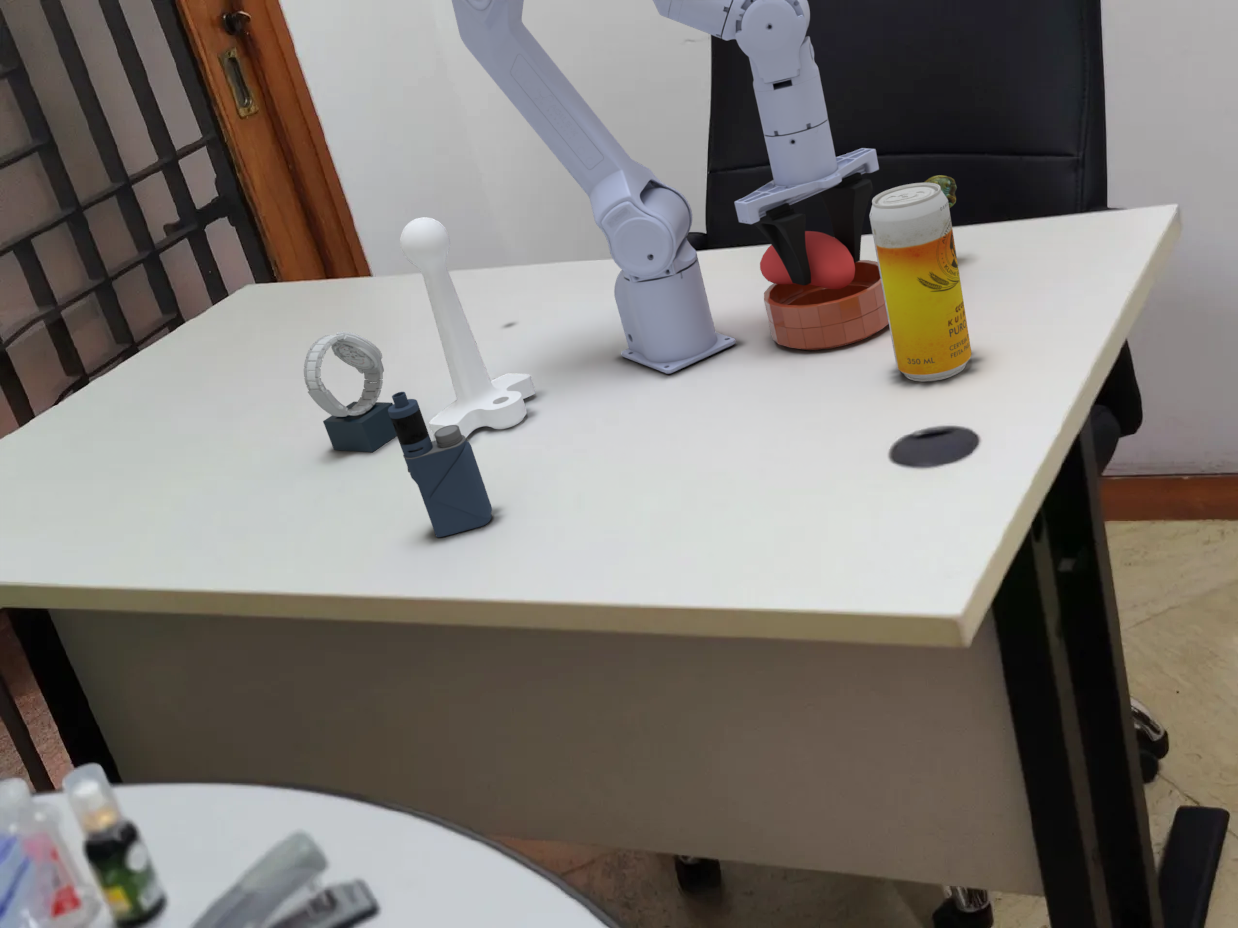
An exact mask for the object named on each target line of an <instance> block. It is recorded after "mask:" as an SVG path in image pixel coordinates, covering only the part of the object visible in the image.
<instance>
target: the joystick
mask: <svg viewBox="0 0 1238 928" xmlns="http://www.w3.org/2000/svg"><path fill="white" fill-rule="evenodd" d="M399 246H400V251H401V252H402V254H403V256H404V257H405V259H406V260H407V261H408V262H410V263H411V264H412V265H414V266H415V267H416V268H417V269H418V270H419V272H420V274H421V275H422V278H423V282H424V286H425V289H426V292H427V296H428V299H429V303H430V307H431V310H432V315H433V318H434V322H435V324H436V329H437V332H438V337H439V340H440V343H441V347H442V351H443V354H444V357H445V361H446V364H447V368H448V371H449V374H450V380H451V383H452V386H453V390H454V393H455V397H456V400H454V401H452V402H451V403H449V404H448V405H447V406H446V407H444V408H443V409H442V410H441V411H439V412H438V413H437V414H435V415H434V417H432V418H431V419H430V420H429V421H428V425H429V428H430V431H431V435H432V437H433V441H436V439H435V436H434V433H435V432H436V431H437V430H439V429H440V428H443V427H445V426H449V425H457V426H459V429H460V432H461V435H464V436H465V438H466V439H467V438H468V436H469V435H470V434H472V432H473V431H475V430H476V429H479V428H482V427H489V428H492V429H494V430H504V429H509V428H511V427H514V426H517V425H518V424H520V423H521V422H523V420H524V419H525V418H524V417H525V416H526V415H527V414H528V411H527V407H526V404H525V401H524V399H526V398H528V397H531V396H534V395H535V394H536V392H537V391H536V388H535V385H534V382H533V378H532V375H531V374H529V373H516V372H507V373H504V374H502V375H500V376H497V377H495V378H493V379H490V376H489V373H488V370H487V367H486V366H485V363H484V360H483V357H482V355H481V352H480V349H479V347H478V345H477V343H476V339H475V336H474V334H473V330H472V329H471V326H470V323H469V321H468V318H467V316H466V313H465V310H464V308H463V306H462V302H461V300H460V298H459V295H458V293H457V290H456V287H455V285H454V283H453V279H452V277H451V275H450V274H451V273H450V272H449V269H448V266H447V257H448V253H449V252H450V248H451V238H450V234H449V232H448V230H447V228H446V226H444V224H442V223H441V222H440V221H439V220H437V219H434V218H433V217H426V216H425V217H424V216H422V217H417V218H414V219H412V220H411V221H409V222H408V223H407V224H406V225H405V226H404V228H403V229H402V231H401V234H400V237H399Z"/></svg>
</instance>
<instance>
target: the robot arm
mask: <svg viewBox="0 0 1238 928" xmlns="http://www.w3.org/2000/svg"><path fill="white" fill-rule="evenodd" d="M524 1H525V0H451V3H452V8H453V12H454V16H455V20H456V25H457V29H458V35H459V37H460V39H461V41H462V43H463V44H464V46H465V47H466V48H467V50H468V51H469V52H470V54H471V55H472V56H473V57H474V58H475V60H476V62H478V63H479V64H480V66H481V67H482V68H483V70H485V72H486V73H487V74H488V75H489V77H490V78H491V79H492V81H493V82H494V83H495V84H496V85H497V86H498V88H499V89H500V90H501V91H502V92H503V94H504V96H506V97H507V99H508V100H509V101H510V103H511V104H512V105H513V106H514V107H515V108H516V110H517V111H518V112H519V113H520V114H521V116H522V117H523V119H524V120H526V122H527V124H529V125H530V127H531V128H532V129H533V131H534V132H535V133H536V134H537V135H538V137H539V138H540V139H541V140H542V142H543V143H544V144H545V145H546V147H547V148H548V149H549V150H550V151H551V153H552V154H553V155H554V157H556V159H557V160H558V161H559V162H560V164H561V165H562V166H563V167H564V168H565V170H566V171H567V172H568V173H569V175H570V176H571V177H572V178H573V180H574V181H575V182H576V183H577V185H579V187H580V188H581V189H582V191H583V192H584V193H585V194H586V195H587V197H588V199H589V203H590V206H591V212H592V215H593V219H594V223H595V225H596V226H597V227H598V228H599V229H600V231H601V232H602V233H603V235H604V237H605V239H606V241H607V245H608V250H609V253H610V256H611V258H612V260H613V262H614V263H615V264H616V266H617V267H618V268H619V269H620V272H619V273H618V274H617V277H616V279H615V283H614V290H613V293H614V300H615V304H616V307H617V312H618V314H619V318H620V322H621V325H622V330H623V333H624V337H625V340H626V345H627V348H626V349H624V350H622V351H621V352H620V354H621V357H623V358H625V359H628V360H631V361H633V362H635V363H639V364H641V365H644V366H646V367H648V368H650V369H654V370H656V371H659V372H661V373H665V374H673V373H675V372H677V371H679V370H681V369H683V368H686V367H688V366H691V365H692V364H694V363H697V362H700V361H701V360H703V359H705V358H708V357H709V356H712V355H714V354H716V353H719V352H721V351H723V350H725V349H727V348H729V347H732V346H733V345H735V344H736V343H737V341H736V338H735V337H731V336H729V335H726V334H722V333H719V332H716V327H715V324H714V320H713V316H712V311H711V306H710V303H709V299H708V298H709V297H708V295H707V289H706V287H705V282H704V278H703V274H702V269H701V266H700V262H699V261H700V260H699V257H698V252H697V250H696V249H695V248H694V247H693V246H692V245H691V243H690V242H689V240H688V238H687V236H688V234H689V233H690V232H691V228H692V224H693V210H692V207H691V205H690V203H689V201H688V199H687V197H686V196H685V195H684V194H683V193H682V192H681V191H679V190H678V189H676V188H675V187H672V186H671V185H669V184H666V183H665V182H663V181H662V180H661V179H659V178H658V176H656V175H655V173H654V172H653V171H652V169H651V168H649V167H647V166H645V165H643V164H642V163H640V162H638V161H636V160H634V159H633V158H632V157H631V156H630V155H629V154H628V153H627V151H626V150H625V149H624V148H623V146H622V145H621V144H620V143H619V141H618V140H617V139H616V138H615V137H614V135H613V134H612V133H611V132H610V130H609V129H608V127H606V125H605V124H604V123H603V121H602V120H601V119H600V118H599V116H598V115H597V114H596V113H595V112H594V110H593V109H592V108H591V106H590V105H589V104H588V103H587V101H586V99H584V98H583V97H582V96H581V94H580V92H579V91H577V89H576V88H575V87H574V85H573V84H572V83H571V81H570V80H569V78H567V77H566V75H565V74H564V73H563V71H562V70H561V69H560V68H559V67H558V65H557V64H556V63H555V61H554V59H552V58H551V57H550V56H549V54H548V53H547V51H546V50H545V49H544V48H543V47H542V45H541V44H540V43H539V42H538V40H537V39H536V38H535V37H534V35H532V33H531V31H530V30H529V29H528V28H527V27H526V25H524V23H523V17H522V16H523V9H524ZM652 2H653V3H654V5H655V8H656V10H657V12H658V14H659V15H660V16H662V17H663V18H666V19H669V20H671V21H675V22H677V23H680V24H683V25H684V26H687V27H690V28H693V29H696V30H697V31H701V32H704V33H706V34H708V35H711V36H713V37H716V38H719V39H722V40H724V41H730V40H736V43H737V45H738V47H739V48H740V49H741V51H742V52H743V53H744V54H745V56H747V57H748V60H749V64H750V65H749V66H750V69H751V74H752V78H753V81H752V87H753V91H754V96H755V100H756V104H757V110H758V114H759V118H760V123H761V127H762V132H763V136H764V142H765V146H766V150H767V154H768V159H769V164H770V169H771V173H772V178H773V179H772V180H771V181H769V182H767V183H766V184H765V185H762V186H761V187H758V188H757V189H756V190H754V191H752V192H751V193H749V194H747V195H746V196H744V197H742V198H739V199H737V200H735V201H734V202H733V203H734V208H735V212H736V215H737V220H738V223H741V224H747V225H754V226H755V227H756V228H757V229H758V230H759V231H760V232H761V234H763V236H764V237H765V238H766V239H767V241H768V242H769V243H770V244H771V245H772V246H773V247H774V249H775V250H776V252H777V253H778V255H779V257H780V258H781V260H782V262H783V264H784V266H785V268H786V270H787V272H788V274H789V276H790V278H791V280H792V283H795V284H799V285H804V286H805V285H808V284H810V283H811V272H810V267H809V262H808V257H807V252H806V243H805V231H806V221H807V215H806V214H804V213H799V212H795V209H794V208H791V205H794V204H796V203H798V202H801V201H803V200H806V199H807V198H811V197H812V196H814V195H817V194H819V196H820V198H821V200H822V202H823V204H824V207H825V209H826V212H827V214H828V218H829V221H830V224H831V227H832V231H833V237H834V238H836V239H837V240H839V241H840V242H841V243H842V244H843V245H844V246H846V247H847V249H848V250H849V252H850V254H851V255H852V257H853V260H854V263H856V262H858V261H860V260H861V249H862V248H861V247H862V245H861V244H862V235H863V226H864V219H865V215H866V211H867V209H868V204H869V201H870V199H871V196H872V193H873V191H874V188H873V183H872V180H871V179H869V178H863V177H862V175H864V174H872V173H874V172H877V171H879V170H880V166H879V161H878V155H877V150H876V148H866V147H861V148H859V149H855V150H854V151H851V152H847V153H846V154H842V155H839V156H836V152H835V151H836V150H835V146H834V141H833V136H832V132H831V127H830V121H829V116H828V110H827V105H826V101H825V100H826V99H825V95H824V91H823V86H822V81H821V80H822V79H821V75H820V70H819V67H818V66H819V65H817V63H816V62H815V50H814V46H813V44H812V42H811V37H810V36H809V35H808V36H806V35H807V31H808V28H809V26H810V21H811V11H810V5H809V1H808V0H652Z"/></svg>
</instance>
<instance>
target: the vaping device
mask: <svg viewBox="0 0 1238 928" xmlns="http://www.w3.org/2000/svg"><path fill="white" fill-rule="evenodd" d="M391 398H392V401H393V405H392V406H390V407H389V408H388V413H389V415H390V418H391V421H393V422H392V424H393V426H394V429H395V432H396V435H397V436H396V437H397V440H398V444H399V446H400V448H401V451H402V456H403V459H404V462H405V463H406V467H407V472H408V473H409V475H410V478H411V479H412V481H414V482H415V484H416V485H417V487H418V490H419V493H420V496H421V498H422V501H423V504H424V507H425V509H426V512H427V515H428V518H429V521H430V523H431V526H432V529H433V532H434V535H435V537H436V538H443V537H446V536H452V535H456V534H459V533H462V532H466V531H469V530H473V529H474V530H475V529H478V528H480V527H483V526H485V525H487V524H488V523H489V522H490V521H491V520H492V512H493V507H492V504H491V501H490V498H489V495H488V491H487V488H486V486H485V483H484V480H483V476H482V474H481V471H480V468H479V465H478V463H477V459H476V456H475V453H474V451H473V447H472V445H471V443H470V442H469V441H468V440H467V437H466V438H465V436H464V435H461V432H460V429H459V426H457V425H449V426H445V427H443V428H440V429H439V430H437V431H436V432H435V433H434V436H435V439H436V441H435V440H433V441H432V439H431V437H430V436H431V435H430V434H429V431H428V428H427V424H426V423H425V420H424V417H423V416H424V415H423V414H422V410H421V408H420V404H419V402H418V400H417V399H415V398H408V396H407V393H406V391H399V392H395V393H394V394H393V395H391Z"/></svg>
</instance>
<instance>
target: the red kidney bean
mask: <svg viewBox="0 0 1238 928" xmlns="http://www.w3.org/2000/svg"><path fill="white" fill-rule="evenodd" d="M805 243H806V252H807V257H808V262H809V267H810V272H811V283H810V285H814V286H819V287H824V288H829V289H841V288H844V287H846V286H847V285H849V284H850V283H851V281H852V280H853V279H854V275H855V265H854V260H853V257H852V255H851V254H850V252H849V250H848V249H847V247H846V246H844V245H843V244H842V243H841V242H840V241H839V240H837V239H836V238H835V237H834V236H832V235H829V234H828V233H824V232H822V231H821V232H820V231H814V230H812V231H811V230H805ZM759 270H760V272H761V275H762V276H763V278H764V279H766V280H767V281H768V282H770V283H771V284H774V283H775V284H795V283H792V280H791V278H790V276H789V274H788V272H787V270H786V268H785V266H784V264H783V262H782V260H781V258H780V257H779V255H778V253H777V252H776V250H775V249H774V247H773V246H772V244H771V245H769V246H768V247H767V249H766V251H765V252H764V253H763V254H762V256H761V259H760V262H759Z"/></svg>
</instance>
